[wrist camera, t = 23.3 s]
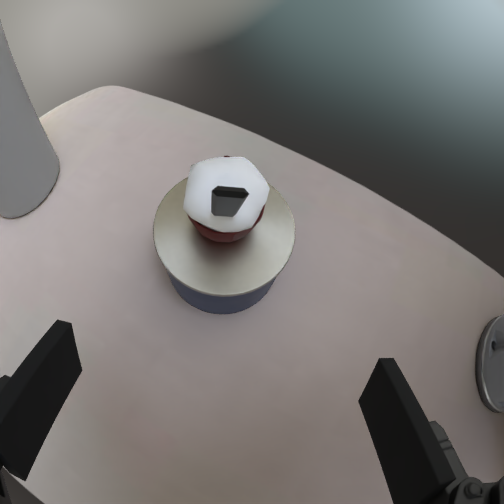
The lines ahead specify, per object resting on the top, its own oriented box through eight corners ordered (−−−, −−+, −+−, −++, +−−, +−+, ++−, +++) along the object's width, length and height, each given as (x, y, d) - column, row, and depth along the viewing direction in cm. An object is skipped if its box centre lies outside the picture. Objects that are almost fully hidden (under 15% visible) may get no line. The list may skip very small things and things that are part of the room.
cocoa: (212, 172, 28) (216, 66, 18) (274, 197, 28) (307, 94, 17) (163, 256, 25) (130, 160, 14) (232, 288, 24) (249, 205, 13)
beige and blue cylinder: (260, 203, 37) (271, 160, 30) (292, 300, 33) (314, 275, 25) (158, 222, 35) (146, 181, 27) (177, 327, 30) (165, 309, 23)
